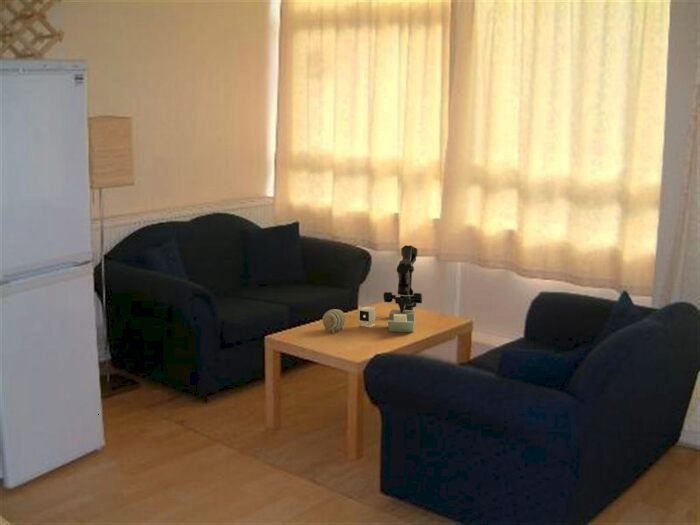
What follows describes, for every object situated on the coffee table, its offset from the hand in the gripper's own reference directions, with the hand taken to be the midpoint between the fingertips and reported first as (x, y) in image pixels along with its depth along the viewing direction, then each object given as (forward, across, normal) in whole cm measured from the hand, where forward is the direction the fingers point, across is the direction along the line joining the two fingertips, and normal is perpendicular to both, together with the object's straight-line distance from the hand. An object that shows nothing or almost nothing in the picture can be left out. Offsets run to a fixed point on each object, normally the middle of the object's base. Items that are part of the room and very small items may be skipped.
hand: (401, 312), depth 402 cm
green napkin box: (+5, 0, -10) cm, 11 cm away
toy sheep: (+9, +33, -6) cm, 34 cm away
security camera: (+2, +18, -12) cm, 22 cm away
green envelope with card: (+7, 0, -6) cm, 9 cm away
